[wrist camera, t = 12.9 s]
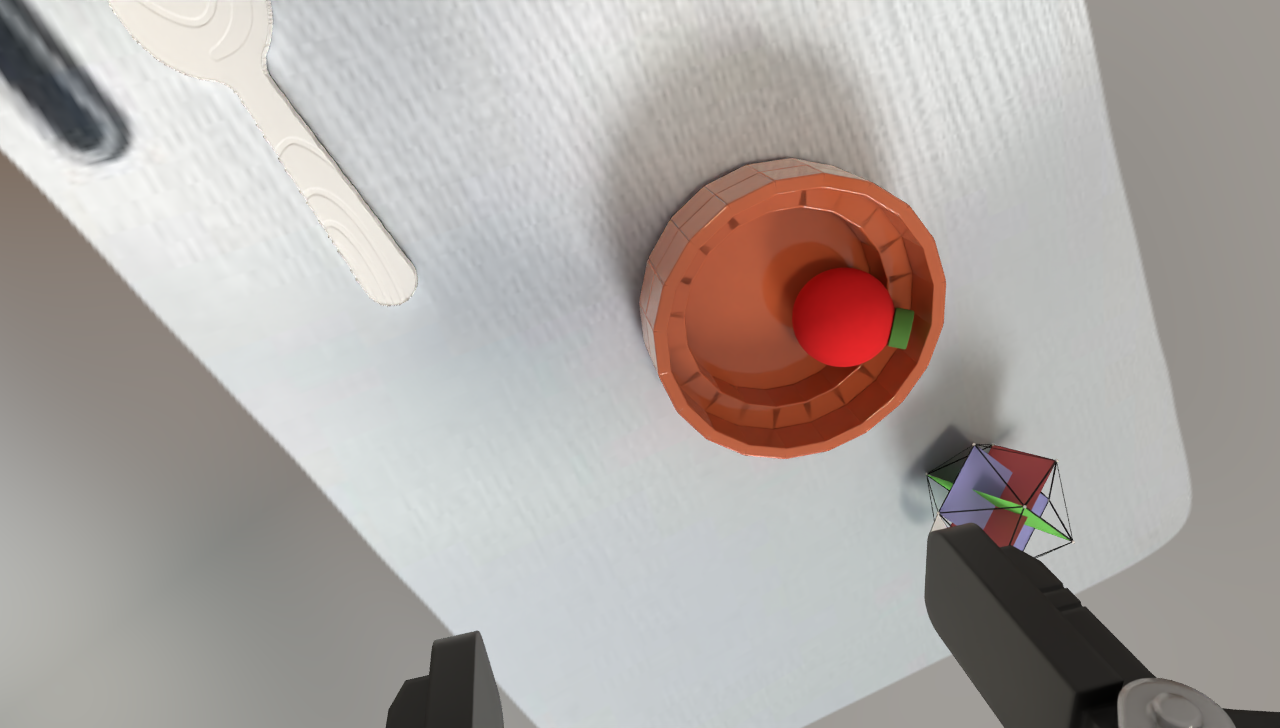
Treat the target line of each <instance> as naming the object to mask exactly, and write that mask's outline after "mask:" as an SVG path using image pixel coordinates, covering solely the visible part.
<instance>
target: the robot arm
mask: <svg viewBox="0 0 1280 728" xmlns="http://www.w3.org/2000/svg"><path fill="white" fill-rule="evenodd" d="M925 604H926V608H927V612H928V615H929V618H930V620H931V622H932V625H933V626H934V628H935V630H936V632H937V633H938V635H939V636H940V637H941V639H942V640H943V642H944V643H945V644H946V646H947V647H948V649H949V650H950V651H951V653H952V654H953V656H954V657H955V659H956V660H957V661H958V663H959V664H960V666H961V667H962V668H963V670H964V671H965V673H966V674H967V676H968V677H969V678H970V680H971V681H972V682H973V684H974V685H975V687H976V688H977V690H978V691H979V692H980V694H981V695H982V697H983V698H984V699H985V701H986V702H987V704H988V705H989V707H990V708H991V709H992V711H993V712H994V714H995V715H996V716H997V718H998V719H999V721H1000V722H1001V724H1002V725H1003V726H1004V728H1280V712H1266V711H1248V710H1233V709H1224V708H1221V707H1220V706H1219V705H1218V704H1217V703H1215V702H1214V701H1213V700H1212V699H1210V698H1209V697H1207V696H1206V695H1204V694H1203V693H1201V692H1199V691H1197V690H1196V689H1194V688H1192V687H1189V686H1187V685H1184V684H1182V683H1178V682H1175V681H1172V680H1167V679H1162V678H1156V677H1155V676H1154V675H1153V674H1152V673H1151V672H1150V671H1148V669H1147V668H1146V667H1145V666H1144V665H1143V664H1142V663H1141V662H1140V661H1139V660H1138V659H1137V658H1136V657H1135V656H1134V655H1133V654H1132V653H1131V652H1130V651H1129V650H1128V649H1127V648H1126V647H1125V646H1124V645H1123V644H1122V643H1121V642H1120V641H1119V640H1118V639H1117V638H1116V637H1115V636H1114V635H1113V634H1112V633H1111V632H1110V631H1109V630H1108V629H1107V628H1106V627H1105V626H1104V625H1103V624H1102V623H1101V622H1100V621H1099V620H1098V619H1097V618H1096V617H1095V616H1094V615H1093V614H1092V613H1091V612H1090V611H1089V610H1088V609H1087V608H1086V607H1083V606H1082V605H1081V602H1080V600H1079V599H1077V597H1076V596H1075V595H1074V594H1073V593H1072V592H1071V591H1070V590H1069V589H1068V588H1064V587H1063V583H1062V582H1061V581H1060V580H1059V579H1058V578H1057V577H1056V576H1055V575H1054V574H1053V573H1052V572H1051V571H1050V570H1049V569H1048V568H1047V567H1046V566H1045V565H1044V564H1043V563H1042V562H1041V561H1039V560H1037V559H1036V558H1034V557H1032V556H1030V555H1028V554H1027V553H1025V552H1023V551H1021V550H1019V549H1018V548H1016V547H1014V546H1012V545H1008V546H1004V547H999V546H998V545H997V544H996V543H995V542H994V541H993V540H992V539H991V538H990V537H989V536H988V535H987V534H986V533H985V531H984V530H983V529H982V528H981V527H980V526H978V525H977V524H975V523H967V524H962V525H958V526H953V527H949V528H944V529H940V530H935V531H932V532H930V534H929V536H928V541H927V558H926V576H925ZM386 728H504V723H503V713H502V706H501V701H500V696H499V692H498V689H497V685H496V682H495V679H494V675H493V672H492V669H491V665H490V662H489V659H488V655H487V652H486V649H485V646H484V642H483V639H482V636H481V634H480V632H479V631H474V632H470V633H465V634H461V635H456V636H452V637H447V638H443V639H438V640H435V641H434V642H433V646H432V652H431V662H430V672H429V675H427V676H423V677H418V678H414V679H410V680H406V681H405V682H404V684H403V686H402V688H401V689H400V691H399V693H398V694H397V696H396V698H395V700H394V702H393V703H392V705H391V707H390V708H389V711H388V717H387V723H386Z"/></svg>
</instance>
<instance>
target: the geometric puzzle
mask: <svg viewBox="0 0 1280 728" xmlns="http://www.w3.org/2000/svg"><path fill="white" fill-rule="evenodd" d="M977 445H978V446H982V445H990V444H975V443H973V444H972V446H973V447H972V449H971V451H970V452H969V454H968V456H966V457H967V458H966V457H964V458H966V460H965V462H964V464H963V466H962V468H961V470H960V472H959V473H958V475H957V477H956V479H955V481H954V483H951V482H948V481H945V480H942V479H939V478H936V477H933V476H930V475H929V474H930V473H932V472H934V471H937V470H939V469H941V468H943V467H946V466H948V465H950V464H952V463H955V462H957V461H959V460H961V459H964V458H961V459H959V460H957V461H955V462H952V463H950V464H948V465H946V466H943V467H941V468H939V469H937V470H934V471H933V470H932V472H929V473H925V475H926V476H928V477H930V478H931V479H933V480H934V481H935V482H937V483H938V484H940V485H941V486H943V487H944V488H946V489H947V490H948V491H949V492H948V494H947V496H946V498H945V500H944V502H943V504H942V506H941V508H940V510H939V511H938V509H937V517H936V519H934V524H933V526H932V529H931V531H930V532H932V531H935V530H940V529H944V528H948V527H947V526H946V524H945V523H944V521H943V520H942V518H943V517H945V518H946V519H948V520H949V521H951V522H952V524H951V525H950V524H949V523H948V522H947V521H946V520H945V519H944V518H943V519H944V520H945V521H946V522H947V523H948V524H949V525H950V527H953V526H958V525H962V524H967V523H975V524H977V525H978V526H980V527H981V528H982V529H983V530H984V531H985V533H986V534H987V535H988V536H989V537H990V538H991V539H992V540H993V541H994V542H995V543H996V544H997V545H998V546H999V547H1004V546H1008V545H1012V546H1014V547H1016V548H1018V549H1019V550H1021V551H1024V549H1025V547H1026V545H1027V543H1028V541H1029V539H1030V537H1031V535H1032V533H1033V531H1034V529H1038V530H1041V531H1044V532H1047V533H1049V534H1052V535H1055V536H1058V537H1061V538H1063V539H1066V540H1069V541H1071V542H1070V543H1073V544H1074V543H1075V541H1074V540H1073V538H1071V536H1072V533H1071V536H1070V534H1069V533H1068V531H1067V529H1066V528H1065V526H1064V524H1063V522H1062V521H1061V519H1060V517H1059V515H1058V514H1057V512H1056V510H1055V508H1054V507H1053V505H1052V503H1051V501H1050V495H1051V490H1052V485H1053V480H1054V475H1055V470H1056V465H1057V467H1058V464H1057V462H1058V461H1059V460H1058V459H1056V460H1053V459H1049V458H1045V457H1041V456H1037V455H1033V454H1029V453H1025V452H1021V451H1017V450H1013V449H1009V448H1005V447H1001V446H997V445H995V444H992V445H991V446H988V447H987V446H983V447H986V448H991V449H990V451H989V453H988V454H987V453H986V452H984V451H983V450H984V449H986V448H984V449H980V448H979V447H978V446H977ZM970 447H971V446H970ZM967 449H968V448H967ZM964 451H965V450H964ZM962 452H963V451H962ZM959 454H960V453H959ZM956 456H957V455H956ZM954 457H955V456H954ZM954 457H953V458H954ZM951 459H952V458H951ZM948 461H949V460H948ZM946 462H947V461H946ZM946 462H945V463H946ZM943 464H944V463H943ZM1054 465H1055V467H1054ZM940 466H941V465H940ZM938 467H939V466H938ZM938 467H937V468H938ZM1053 467H1054V472H1053V478H1052V483H1051V488H1050V493H1049V498H1047V497H1046V496H1045V495H1044V494H1043V493H1042V492H1041V490H1042V488H1043V486H1044V484H1045V483H1046V481H1047V479H1048V477H1049V475H1050V473H1051V471H1052V469H1053ZM935 469H936V468H935ZM1058 472H1059V469H1058ZM928 477H927V482H929V480H928ZM1059 477H1060V474H1059ZM1060 482H1061V479H1060ZM929 485H930V483H929V484H928V487H929ZM1061 487H1062V484H1061ZM930 489H931V486H930ZM931 492H932V490H931ZM1062 492H1063V489H1062ZM929 493H930V490H929ZM932 495H933V493H932ZM1063 496H1064V494H1063ZM933 498H934V496H933ZM930 499H931V496H930ZM1064 501H1065V499H1064ZM934 502H935V499H934ZM1048 502H1050V504H1051V506H1052V508H1053V509H1054V511H1055V513H1056V515H1057V516H1058V518H1059V520H1060V522H1061V523H1062V525H1063V527H1064V529H1065V530H1066V532H1067V534H1068V536H1069V537H1070V538H1068V537H1067V536H1066V535H1064V534H1063V533H1062V532H1060V531H1059V530H1057V529H1056V528H1055V527H1053V526H1052V525H1051V524H1049V523H1048V522H1046V521H1045V520H1044V519H1042V518H1041V516H1042V514H1043V512H1044V510H1045V508H1046V506H1047V504H1048ZM931 505H932V502H931ZM935 505H936V503H935ZM1065 506H1066V504H1065ZM936 508H937V506H936ZM932 511H933V508H932ZM1066 511H1067V509H1066ZM940 516H941V517H942V518H941V517H940ZM1067 516H1068V514H1067ZM933 517H934V514H933ZM1068 521H1069V518H1068ZM1069 526H1070V523H1069ZM1070 531H1071V528H1070ZM929 534H930V533H929ZM1070 543H1068V544H1070ZM1068 544H1065V545H1068ZM1065 545H1063V546H1065ZM1063 546H1060V547H1058V548H1055V549H1053V551H1054V550H1056V549H1059V548H1061V547H1063ZM1049 552H1052V550H1050V551H1048V553H1049ZM1045 553H1046V554H1047V552H1045ZM1045 553H1043V555H1045ZM1040 555H1041V556H1043V555H1042V554H1040ZM1040 555H1038V556H1039V557H1040ZM1035 557H1037V556H1035ZM1035 557H1034V558H1035ZM1037 558H1038V557H1037Z"/></svg>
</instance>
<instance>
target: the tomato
mask: <svg viewBox="0 0 1280 728" xmlns="http://www.w3.org/2000/svg"><path fill="white" fill-rule="evenodd" d="M913 318H914V311H913V310H908V309H903V308H896V309H894V304H893V301H892V298H891V296H890V294H889V292H888V291H887V289H886V288H885V287H884V285H883V284H882V283H881V282H880V281H879V280H878V279H876V278H875V277H874V276H872V275H870V274H869V273H867V272H864V271H862V270H859V269H854V268H834V269H830V270H827V271H824V272H822V273H820V274H818V275H816V276H815V277H813V278H812V279H811V280H810V281H808V282H807V283H806V284H805V285H804V287H803V288H802V289H801V291H800V292H799V294H798V296H797V298H796V300H795V303H794V306H793V311H792V324H793V329H794V333H795V336H796V338H797V340H798V342H799V344H800V345H801V347H802V348H803V349H804V350H805V351H806V352H807V353H808V354H809V355H810V356H811V357H813V358H814V359H816V360H817V361H819V362H821V363H824V364H826V365H830V366H835V367H851V366H856V365H859V364H862V363H865V362H867V361H868V360H870V359H872V358H873V357H875V356H876V355H877V354H878V353H879V352H880V351H882V349H883V348H884V347H885V346H886V344H887V343H888V346H889V347H894V348H900V349H906V347H907V344H908V340H909V337H910V332H911V328H912V323H913Z"/></svg>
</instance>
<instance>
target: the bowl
mask: <svg viewBox="0 0 1280 728" xmlns="http://www.w3.org/2000/svg"><path fill="white" fill-rule="evenodd" d="M834 268H854V269H859V270H862V271H864V272H867V273H869V274H870V275H872V276H874V277H875V278H876V279H878V280H879V281H880V282H881V283H882V284H883V285H884V287H885V288H886V289H887V291H888V292H889V294H890V296H891V298H892V301H893V304H894V309H896V308H903V309H908V310H913V311H914V318H913V323H912V328H911V332H910V337H909V340H908V344H907V347H906V349H900V348H894V347H889V346H888V343H887V344H886V346H885V347H884V348H883V349H882V351H880V352H879V353H878V354H877V355H876V356H875V357H873V358H872V359H870V360H868V361H867V362H865V363H862V364H859V365H856V366H851V367H835V366H830V365H826V364H824V363H821V362H819V361H817V360H816V359H814V358H813V357H811V356H810V355H809V354H808V353H807V352H806V351H805V350H804V349H803V348H802V347H801V345H800V344H799V342H798V340H797V338H796V336H795V333H794V329H793V324H792V311H793V306H794V303H795V300H796V298H797V296H798V294H799V292H800V291H801V289H802V288H803V287H804V285H805V284H806V283H807V282H808V281H810V280H811V279H812V278H813V277H815V276H816V275H818V274H820V273H822V272H824V271H827V270H830V269H834ZM945 293H946V279H945V276H944V272H943V268H942V265H941V261H940V258H939V254H938V250H937V247H936V243H935V240H934V238H933V237H932V235H931V234H930V233H929V231H928V230H927V228H926V227H925V226H924V224H923V223H922V222H921V220H920V219H919V218H918V216H917V215H916V214H915V212H914V211H913V210H912V208H911V207H910V206H909V205H908V204H907V203H905V202H904V201H902V200H900V199H899V198H897V197H895V196H894V195H892V194H891V193H889V192H887V191H886V190H884V189H882V188H881V187H879V186H878V185H876V184H874V183H873V182H871V181H868V180H866V179H864V178H861V177H859V176H857V175H854V174H852V173H849V172H847V171H845V170H842V169H840V168H837V167H835V166H832V165H827V164H821V163H816V162H811V161H806V160H800V159H795V158H793V159H792V158H787V159H781V160H774V161H767V162H761V163H754V164H748V165H745V166H743V167H741V168H739V169H737V170H735V171H733V172H731V173H729V174H727V175H725V176H723V177H721V178H719V179H717V180H715V181H713V182H711V183H709V184H707V185H705V187H703V188H702V189H701V190H699V191H698V192H697V193H696V194H695V195H694V196H693V197H692V198H691V199H690V200H689V201H688V202H687V203H686V204H685V205H684V206H683V207H682V208H681V209H680V210H679V211H678V212H677V213H675V214H674V215H673V216H672V217H671V220H669V222H668V224H667V226H666V227H665V229H664V231H663V233H662V234H661V236H660V238H659V240H658V242H657V243H656V245H655V247H654V249H653V251H652V252H651V254H650V256H649V260H648V261H647V265H646V270H645V275H644V280H643V284H642V289H641V294H640V299H639V301H640V302H639V306H640V314H641V322H642V330H643V338H644V342H645V346H646V348H647V350H648V353H649V355H650V357H651V359H652V362H653V364H654V366H655V369H656V371H657V373H658V376H659V378H660V380H661V382H662V384H663V386H664V388H665V390H666V391H667V393H668V395H669V397H670V399H671V401H672V403H673V405H674V407H675V409H676V411H677V412H678V414H679V415H681V416H682V417H683V418H684V419H685V420H686V421H687V422H688V423H689V424H690V425H691V426H693V427H694V428H695V429H696V430H697V431H698V432H699V433H700V434H701V435H702V436H703V437H704V438H706V439H708V440H709V441H712V442H714V443H716V444H719V445H721V446H723V447H726V448H728V449H730V450H733V451H735V452H737V453H740V454H742V455H746V456H757V457H768V458H778V459H789V458H794V457H799V456H805V455H810V454H815V453H820V452H826V451H829V450H831V449H833V448H835V447H837V446H840V445H842V444H844V443H846V442H848V441H850V440H852V439H854V438H856V437H858V436H860V435H862V434H864V433H866V432H867V431H869V430H870V429H871V428H872V427H874V426H875V425H876V424H877V423H878V422H880V421H881V420H882V419H883V418H884V417H886V416H887V415H888V414H889V413H890V412H892V411H893V410H894V409H895V408H896V407H898V406H899V405H900V404H901V403H902V402H903V401H904V399H905V398H906V396H907V395H908V394H909V392H910V391H911V389H912V388H913V387H914V385H915V384H916V382H917V381H918V380H919V378H920V377H921V375H922V374H923V373H924V371H925V370H926V369H927V366H928V365H929V362H930V360H931V357H932V354H933V352H934V349H935V346H936V344H937V341H938V338H939V335H940V333H941V330H942V327H943V324H944V309H945Z"/></svg>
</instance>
